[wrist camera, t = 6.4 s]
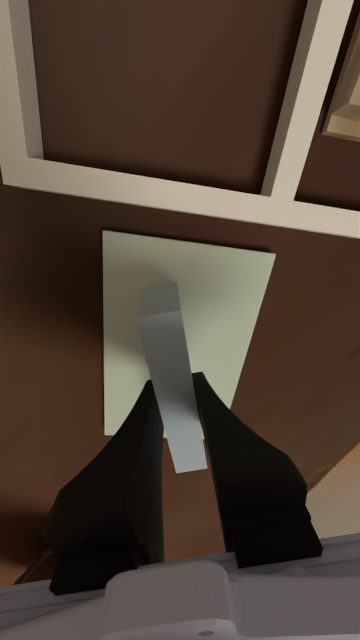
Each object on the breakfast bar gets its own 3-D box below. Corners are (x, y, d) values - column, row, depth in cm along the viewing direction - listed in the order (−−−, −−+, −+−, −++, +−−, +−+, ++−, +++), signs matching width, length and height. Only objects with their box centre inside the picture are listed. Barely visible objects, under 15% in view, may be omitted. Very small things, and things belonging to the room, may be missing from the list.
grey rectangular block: (176, 283, 13) (180, 310, 9) (198, 413, 18) (207, 468, 14) (144, 288, 13) (135, 318, 9) (174, 416, 18) (176, 473, 14)
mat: (271, 252, 14) (276, 254, 13) (219, 433, 20) (220, 439, 19) (105, 230, 13) (102, 230, 12) (106, 428, 19) (104, 434, 18)
